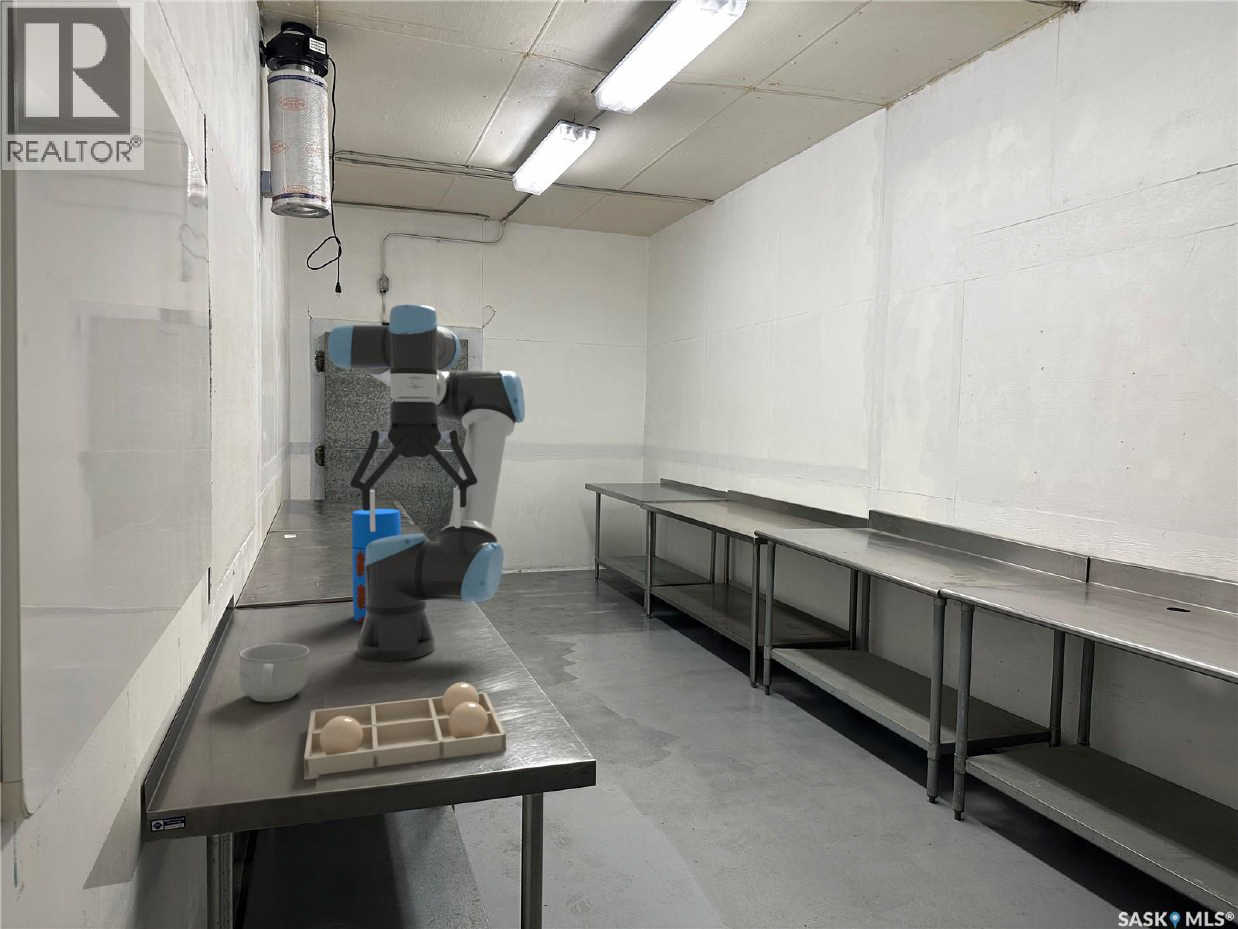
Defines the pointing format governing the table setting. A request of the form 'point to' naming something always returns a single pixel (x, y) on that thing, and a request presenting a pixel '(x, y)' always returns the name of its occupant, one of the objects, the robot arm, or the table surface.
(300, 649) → the teacup
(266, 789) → the table surface
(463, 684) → the egg back left
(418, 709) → the carton
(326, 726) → the egg
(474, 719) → the egg front left
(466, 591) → the robot arm
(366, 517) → the thermos
